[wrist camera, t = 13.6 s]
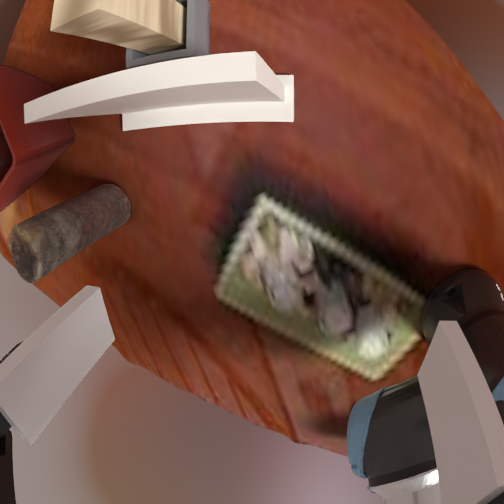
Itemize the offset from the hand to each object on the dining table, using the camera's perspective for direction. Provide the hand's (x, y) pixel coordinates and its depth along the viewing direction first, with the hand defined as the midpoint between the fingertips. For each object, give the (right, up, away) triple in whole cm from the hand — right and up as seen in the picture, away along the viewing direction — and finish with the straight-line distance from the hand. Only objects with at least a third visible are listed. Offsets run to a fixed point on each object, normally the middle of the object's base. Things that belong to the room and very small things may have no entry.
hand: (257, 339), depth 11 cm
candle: (-22, +11, +35) cm, 43 cm away
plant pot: (-37, +25, +32) cm, 55 cm away
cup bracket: (-7, +27, +24) cm, 36 cm away
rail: (-8, +26, +15) cm, 31 cm away
